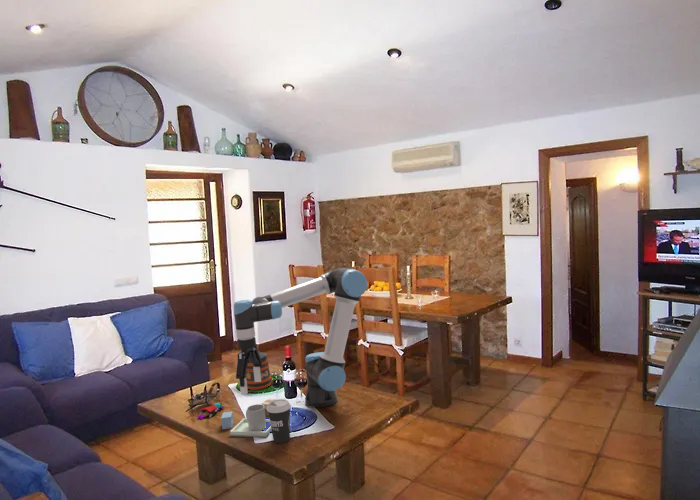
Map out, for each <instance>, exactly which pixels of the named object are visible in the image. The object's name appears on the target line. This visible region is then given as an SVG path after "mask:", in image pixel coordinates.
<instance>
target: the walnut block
mask: <svg viewBox="0 0 700 500" xmlns="http://www.w3.org/2000/svg"><path fill="white" fill-rule="evenodd" d="M267 406H268V405H264V408H265V418H267V417H269V414H268V411H267Z"/></svg>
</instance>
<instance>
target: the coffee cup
mask: <svg viewBox="0 0 700 500" xmlns="http://www.w3.org/2000/svg"><path fill="white" fill-rule="evenodd" d="M291 408H292V405H291V403H290V402H289V400H288V399H285V398H279V399H276V400H273V401H271V402H269V404H268V406H267V411H268V414H269V419H270V424H271V430H272V432H271V435H272V440H273V442H274V443H276V444H284V443H287V442H289V441H290V440H291V425H290V424H291V422H290V421H291V417H290V416H291V414H290V413H291Z"/></svg>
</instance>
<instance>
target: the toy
mask: <svg viewBox="0 0 700 500" xmlns="http://www.w3.org/2000/svg"><path fill="white" fill-rule="evenodd" d="M226 407H227V405H225V403H221V402H216V403H214V404H213V405H212V406H211V405H210V406H207V407H204V408H203V407H202V408H200V409H199V411H200V412H199V415H198V416H197V420H199V419H200V420H201V421H203V418H207V416H209V418H212V416H215V415H216V413H218V411H220V410H222V409H223V408H226Z"/></svg>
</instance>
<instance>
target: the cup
mask: <svg viewBox="0 0 700 500" xmlns="http://www.w3.org/2000/svg"><path fill="white" fill-rule="evenodd" d="M245 418H247V421H248V425H249V430H250V431H262V430H263V429H264V428H266V419H265V408H264V405H262V403H258V404H251V405H250V406H248V407H247V408H246V411H245Z"/></svg>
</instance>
